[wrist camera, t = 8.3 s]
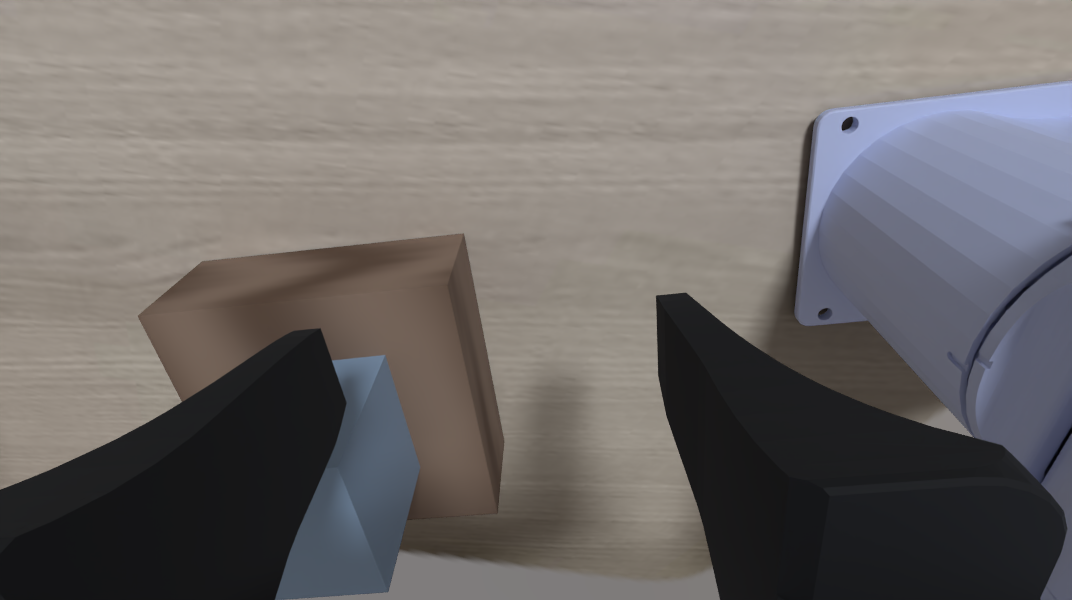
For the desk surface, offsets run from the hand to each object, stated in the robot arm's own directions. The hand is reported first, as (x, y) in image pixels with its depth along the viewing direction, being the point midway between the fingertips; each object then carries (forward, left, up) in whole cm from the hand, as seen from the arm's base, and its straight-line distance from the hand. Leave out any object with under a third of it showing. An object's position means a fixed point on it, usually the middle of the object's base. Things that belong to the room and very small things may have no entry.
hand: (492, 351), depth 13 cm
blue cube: (+7, +6, -5) cm, 11 cm away
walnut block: (+7, +6, -9) cm, 13 cm away
